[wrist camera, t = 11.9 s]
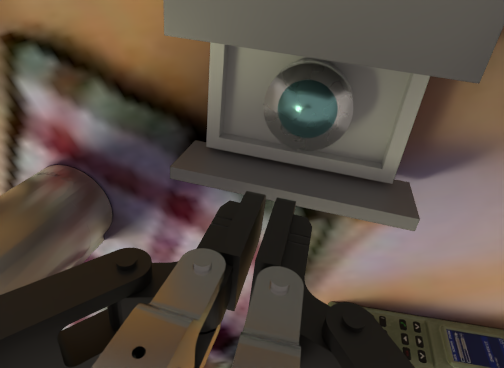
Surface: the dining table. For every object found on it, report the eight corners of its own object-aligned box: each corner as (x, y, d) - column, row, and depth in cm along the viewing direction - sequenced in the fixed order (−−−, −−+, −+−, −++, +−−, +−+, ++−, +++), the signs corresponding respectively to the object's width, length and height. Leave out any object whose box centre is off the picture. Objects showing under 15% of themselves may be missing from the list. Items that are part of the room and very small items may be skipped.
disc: (364, 67, 24) (365, 74, 22) (339, 148, 27) (339, 159, 25) (277, 50, 25) (271, 55, 23) (262, 130, 28) (256, 140, 26)
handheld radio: (329, 295, 38) (612, 340, 32) (326, 316, 40) (595, 362, 34) (324, 353, 32) (664, 418, 27) (322, 374, 34) (641, 439, 29)
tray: (403, 198, 29) (412, 237, 25) (195, 155, 31) (170, 184, 27) (507, -78, 20) (551, -93, 15) (201, -105, 22) (164, -125, 18)
